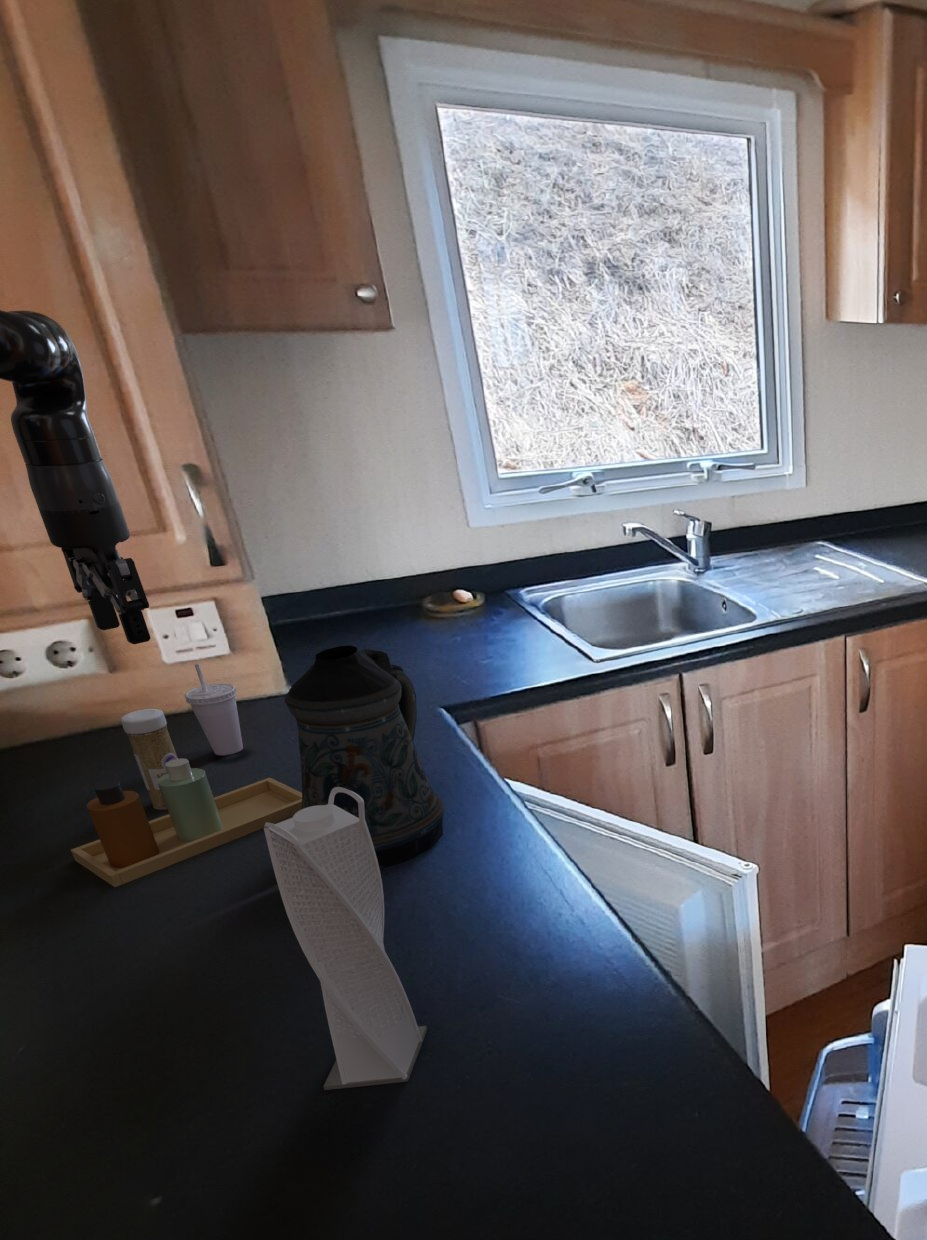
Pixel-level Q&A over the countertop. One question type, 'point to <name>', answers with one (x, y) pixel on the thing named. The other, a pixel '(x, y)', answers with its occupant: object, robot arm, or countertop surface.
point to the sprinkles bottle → (150, 748)
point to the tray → (239, 818)
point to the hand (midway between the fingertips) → (124, 635)
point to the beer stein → (366, 749)
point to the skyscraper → (346, 940)
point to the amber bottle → (121, 825)
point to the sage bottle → (189, 801)
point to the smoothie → (217, 714)
